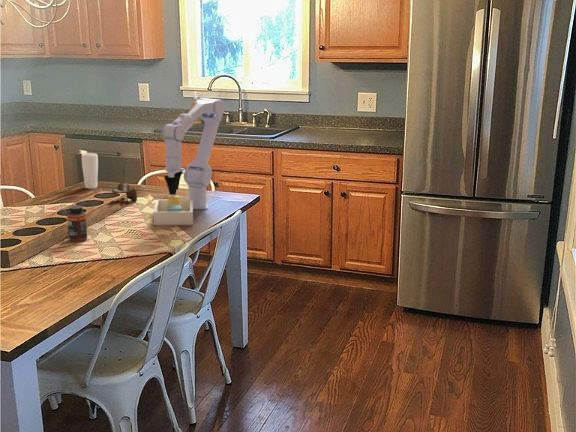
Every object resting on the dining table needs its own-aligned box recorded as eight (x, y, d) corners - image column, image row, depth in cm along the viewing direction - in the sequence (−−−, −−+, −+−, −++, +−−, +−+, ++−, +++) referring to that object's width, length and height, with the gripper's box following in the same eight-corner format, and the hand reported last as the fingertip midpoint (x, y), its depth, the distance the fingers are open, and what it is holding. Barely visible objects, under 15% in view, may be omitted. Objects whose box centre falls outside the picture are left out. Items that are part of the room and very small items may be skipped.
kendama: (135, 194, 270) (137, 204, 252) (112, 195, 268) (113, 206, 249) (134, 180, 269) (137, 190, 250) (111, 181, 266) (112, 191, 248)
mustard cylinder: (165, 213, 239) (165, 195, 238) (178, 211, 242) (177, 194, 240) (170, 216, 235) (170, 198, 233) (182, 215, 238) (182, 197, 236)
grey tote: (156, 211, 243) (156, 199, 242) (192, 211, 245) (192, 199, 244) (153, 225, 226) (153, 212, 224) (192, 225, 228) (192, 212, 227)
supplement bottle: (89, 236, 211) (87, 204, 208) (84, 242, 205) (82, 209, 202) (71, 236, 211) (69, 204, 208) (66, 242, 205) (64, 208, 202)
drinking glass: (80, 188, 272) (78, 155, 268) (87, 185, 279) (85, 152, 275) (94, 190, 271) (93, 156, 267) (101, 186, 278) (100, 153, 274)
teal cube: (167, 218, 234) (166, 205, 232) (180, 217, 235) (180, 204, 233) (167, 221, 229) (167, 208, 228) (181, 221, 230) (181, 208, 229)
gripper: (182, 160, 226) (182, 197, 230) (186, 153, 240) (186, 187, 243) (162, 160, 225) (163, 196, 229) (167, 152, 239) (168, 187, 243)
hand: (173, 192), depth 236 cm, fingers open, 7 cm apart
